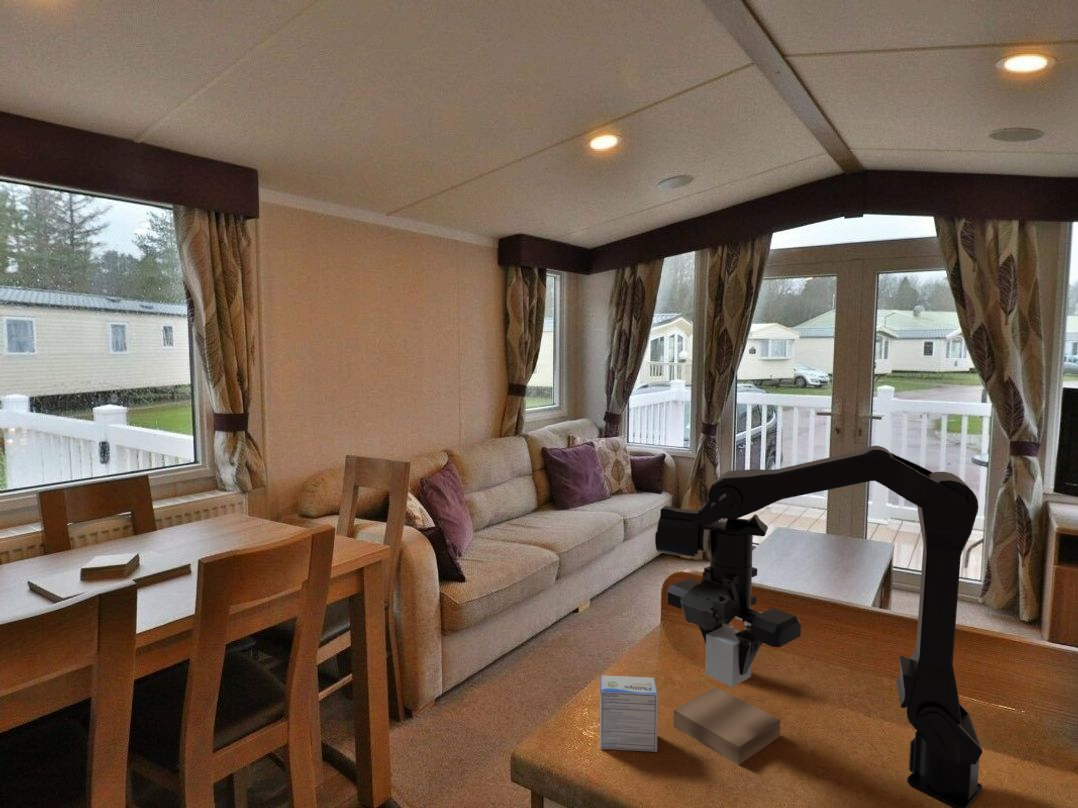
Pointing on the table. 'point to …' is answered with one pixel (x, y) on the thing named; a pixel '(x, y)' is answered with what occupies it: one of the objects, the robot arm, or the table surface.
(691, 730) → the brown flat block
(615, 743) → the medicine box
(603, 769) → the table surface
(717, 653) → the grey block
